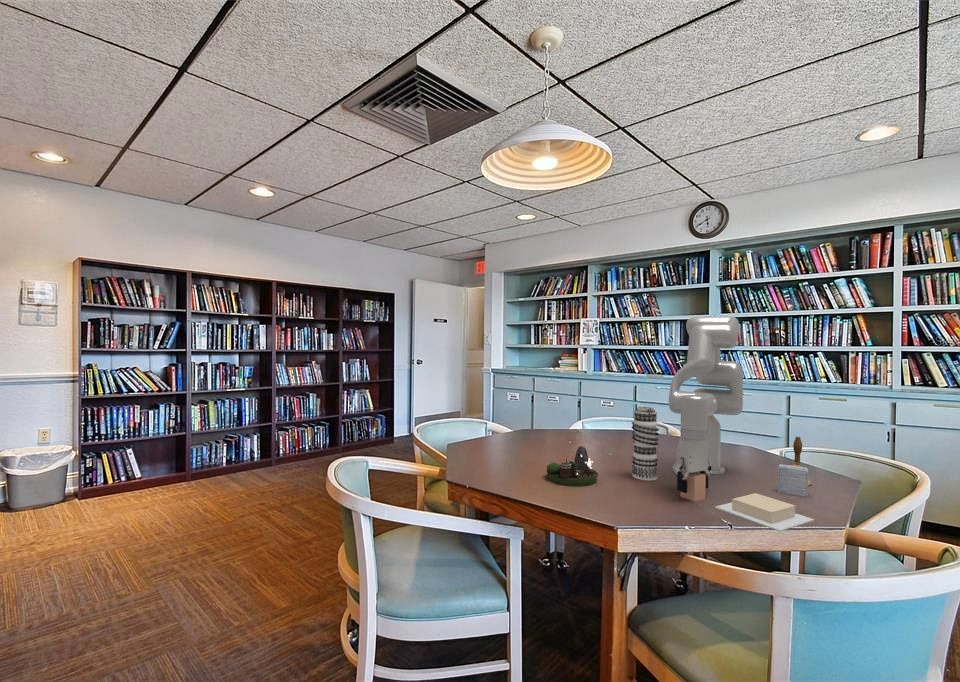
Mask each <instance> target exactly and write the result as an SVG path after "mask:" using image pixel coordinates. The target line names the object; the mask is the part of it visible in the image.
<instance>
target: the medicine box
mask: <svg viewBox="0 0 960 682" xmlns="http://www.w3.org/2000/svg"><path fill="white" fill-rule="evenodd" d="M777 473H778V476H777V477H778V480H777V482H778V484H777V485H778V487H777V493H779V494H784V495H790V496H791V495H792V496H797V497H804V498H808V497H809V486H808V480H809V469H808V468H807V467H804V466H802V467H798V466H791V465H789V464H781V463H780V464H778V471H777Z"/></svg>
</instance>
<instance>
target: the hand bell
mask: <svg viewBox="0 0 960 682" xmlns="http://www.w3.org/2000/svg"><path fill="white" fill-rule="evenodd" d="M792 448H793V452H794V461H793V464H791V465H790V466H798V467H803V466H802V465H801V453H802V451H803V442H802V440H801V437H800V436H795V439H794V440H793V445H792ZM811 485H812V482H811V481H810V480H809V479H808V487H809V486H811Z"/></svg>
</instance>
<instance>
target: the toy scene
mask: <svg viewBox="0 0 960 682" xmlns="http://www.w3.org/2000/svg"><path fill="white" fill-rule="evenodd" d="M574 456H575V457H574V461H572V460H569V462H568V459H567V457H565V462H561V463H560V464H559V463H557V462H554V461H552V462H551V463H549V464H548V465H547V466H546V473H547V476H548V479H549V480H550V481H551V482H553V483H555V484H559V485H562V486H569V487H585V486H591V485H594V484H595V483H596V482H597V480H598V479H597V478H598V477H599V473H598V471H596V470H595V469H593V467H591V466H592V464H593V463H594V461H593V460H591V458H590V457H589V455H588V451H587V449H586V447H585V446H582V445H581V446H578V447H577V450H576V453H575V455H574Z"/></svg>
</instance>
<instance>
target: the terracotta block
mask: <svg viewBox="0 0 960 682" xmlns="http://www.w3.org/2000/svg"><path fill="white" fill-rule="evenodd" d="M684 473H685V472H682V474H684ZM686 480H687V493H683V492H680V493H679V494H680V498H683V499H686V500H688V501H691V502H699V501H703V500H706V489H705V485H706V475H705V474H702V473H700V472H695V473H689V474H688V476H687V478H686Z"/></svg>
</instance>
